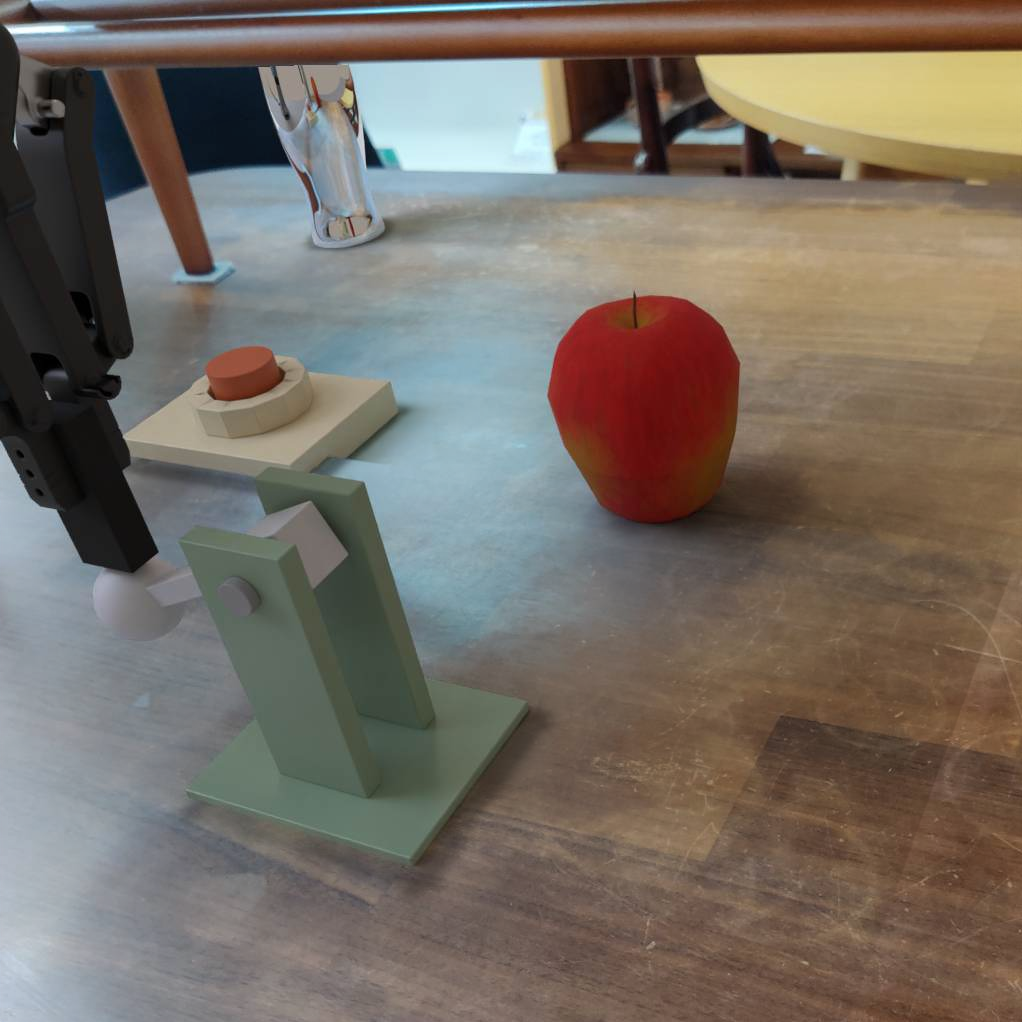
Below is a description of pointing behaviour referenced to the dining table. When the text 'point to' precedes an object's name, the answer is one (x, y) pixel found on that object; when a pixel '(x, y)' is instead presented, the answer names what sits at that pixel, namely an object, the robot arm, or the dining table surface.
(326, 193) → the beer glass
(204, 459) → the cream button base
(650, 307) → the apple
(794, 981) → the dining table surface
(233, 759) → the bracket
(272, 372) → the button
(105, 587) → the tap lever
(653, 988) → the dining table surface
